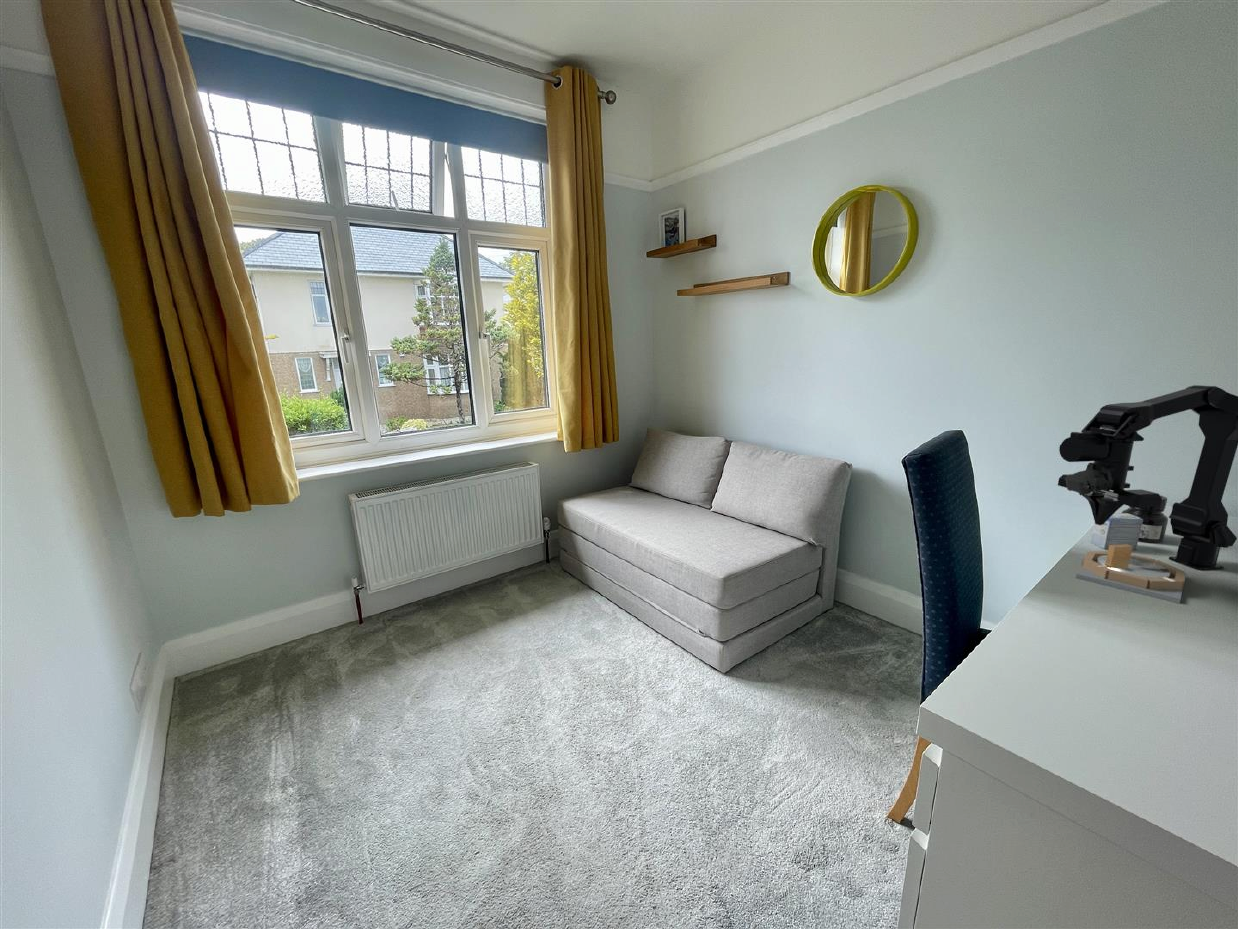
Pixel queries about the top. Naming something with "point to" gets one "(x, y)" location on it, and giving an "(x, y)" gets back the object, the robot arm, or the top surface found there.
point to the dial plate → (1133, 578)
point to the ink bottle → (1151, 521)
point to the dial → (1131, 563)
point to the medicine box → (1117, 531)
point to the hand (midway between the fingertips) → (1099, 524)
